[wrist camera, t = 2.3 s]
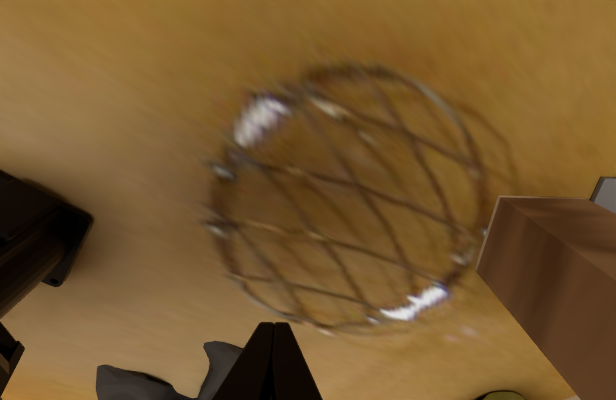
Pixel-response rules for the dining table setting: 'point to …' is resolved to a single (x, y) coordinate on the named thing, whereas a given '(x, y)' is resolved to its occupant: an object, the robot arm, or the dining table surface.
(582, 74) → the dining table surface
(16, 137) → the dining table surface
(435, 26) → the dining table surface
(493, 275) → the walnut block
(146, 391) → the cloth
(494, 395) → the plant pot
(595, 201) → the rubber mat
